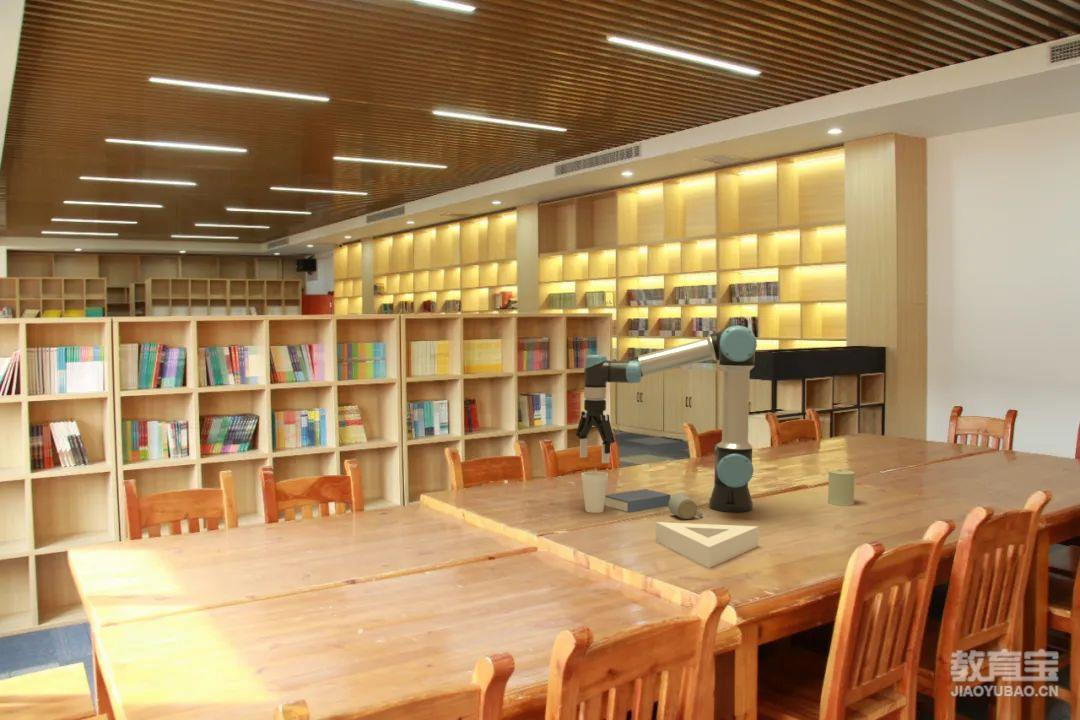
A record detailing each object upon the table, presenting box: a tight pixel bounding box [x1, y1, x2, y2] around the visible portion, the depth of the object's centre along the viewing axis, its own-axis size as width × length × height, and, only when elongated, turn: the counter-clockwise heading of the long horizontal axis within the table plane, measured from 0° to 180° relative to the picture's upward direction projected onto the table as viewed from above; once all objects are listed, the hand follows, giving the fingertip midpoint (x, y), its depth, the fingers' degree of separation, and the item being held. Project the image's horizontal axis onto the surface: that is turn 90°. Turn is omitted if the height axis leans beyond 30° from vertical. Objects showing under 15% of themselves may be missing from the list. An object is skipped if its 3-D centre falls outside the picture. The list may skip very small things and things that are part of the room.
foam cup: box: [580, 470, 609, 514], centre depth 293 cm, size 10×9×13 cm
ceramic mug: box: [668, 492, 703, 520], centre depth 284 cm, size 11×8×8 cm
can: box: [827, 469, 856, 507], centre depth 307 cm, size 9×9×12 cm
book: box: [604, 488, 672, 514], centre depth 301 cm, size 13×20×4 cm, turn 126°
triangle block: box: [655, 521, 760, 569], centre depth 243 cm, size 30×26×6 cm
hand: (594, 460), depth 292 cm, fingers open, 13 cm apart
